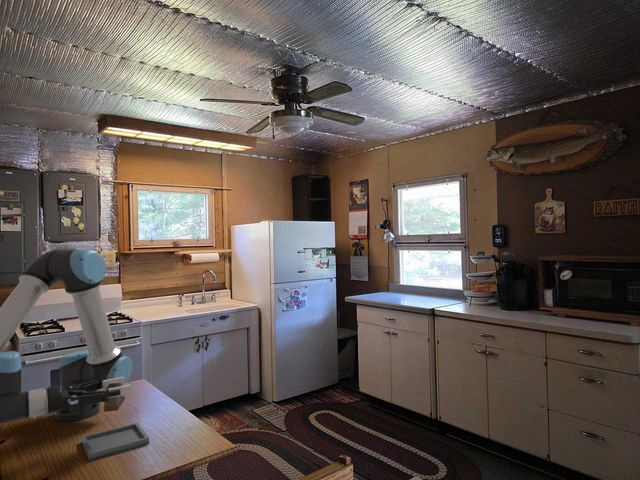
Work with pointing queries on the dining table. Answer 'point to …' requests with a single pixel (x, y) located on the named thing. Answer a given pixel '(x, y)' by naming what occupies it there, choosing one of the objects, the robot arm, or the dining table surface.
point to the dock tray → (114, 441)
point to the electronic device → (113, 399)
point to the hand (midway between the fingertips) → (127, 384)
